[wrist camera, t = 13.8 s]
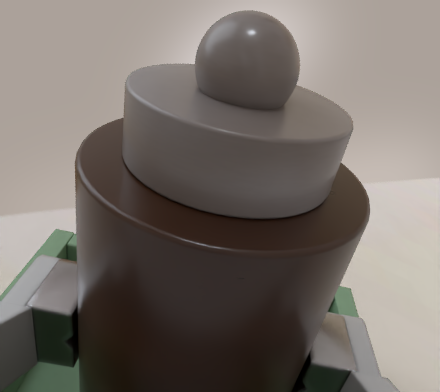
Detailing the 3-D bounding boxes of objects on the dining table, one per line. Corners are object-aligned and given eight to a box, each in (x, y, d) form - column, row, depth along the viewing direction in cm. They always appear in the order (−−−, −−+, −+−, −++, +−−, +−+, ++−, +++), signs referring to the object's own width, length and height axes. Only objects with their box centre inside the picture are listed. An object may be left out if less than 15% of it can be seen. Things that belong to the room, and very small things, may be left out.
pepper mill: (50, 556, 10) (-29, -27, 3) (114, 382, 14) (137, -23, 8) (236, 593, 10) (538, 88, 3) (244, 408, 14) (381, 28, 8)
